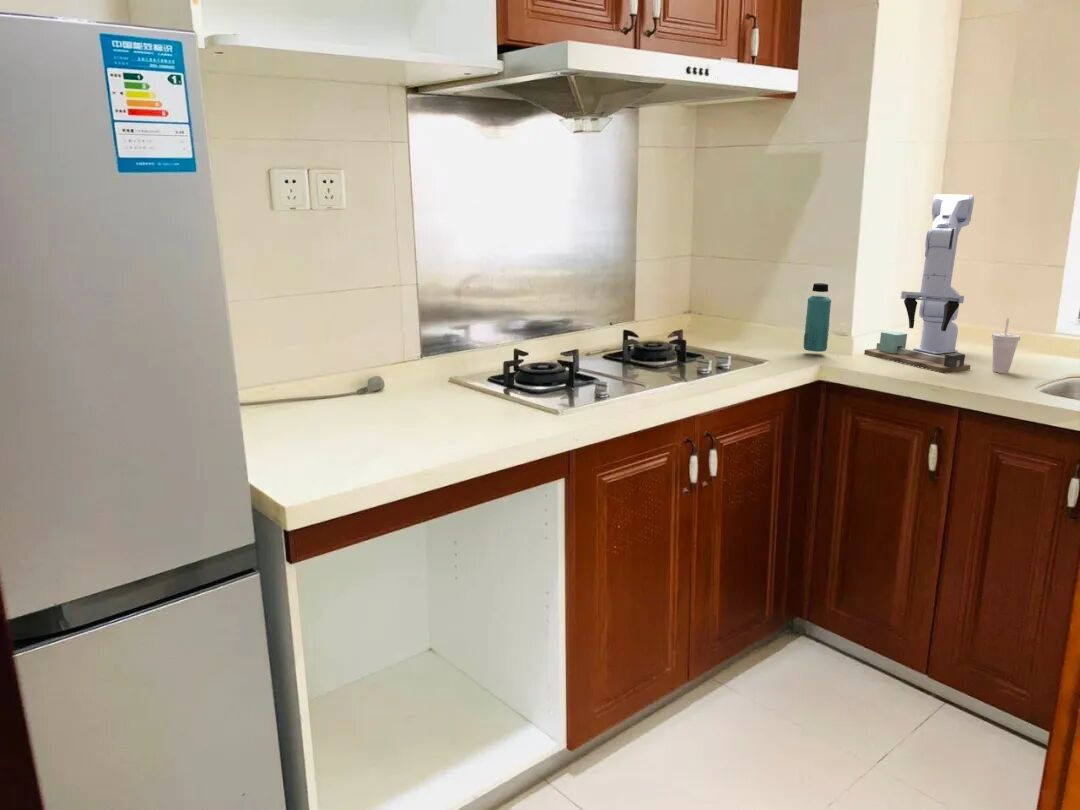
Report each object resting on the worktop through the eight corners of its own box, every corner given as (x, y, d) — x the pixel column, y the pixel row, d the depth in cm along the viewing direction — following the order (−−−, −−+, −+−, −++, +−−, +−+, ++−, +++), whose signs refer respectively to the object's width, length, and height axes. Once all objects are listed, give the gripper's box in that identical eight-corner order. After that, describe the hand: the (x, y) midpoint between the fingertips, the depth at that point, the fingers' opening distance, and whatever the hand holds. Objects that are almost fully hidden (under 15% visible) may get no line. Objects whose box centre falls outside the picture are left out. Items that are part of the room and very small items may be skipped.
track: (864, 354, 233) (866, 339, 232) (889, 351, 237) (891, 336, 236) (943, 373, 210) (946, 356, 209) (970, 369, 215) (972, 353, 214)
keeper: (878, 350, 232) (881, 332, 230) (890, 349, 234) (892, 331, 232) (893, 353, 227) (895, 335, 226) (904, 352, 229) (907, 334, 228)
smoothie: (981, 371, 213) (990, 317, 209) (993, 368, 217) (1001, 315, 213) (1007, 375, 208) (1016, 321, 205) (1019, 372, 212) (1028, 318, 208)
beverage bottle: (831, 356, 229) (839, 284, 224) (811, 357, 227) (818, 285, 222) (817, 351, 235) (824, 281, 230) (797, 353, 233) (803, 282, 228)
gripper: (907, 273, 207) (899, 327, 209) (970, 277, 203) (961, 332, 205) (902, 274, 213) (895, 326, 215) (963, 278, 210) (955, 331, 212)
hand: (927, 329), depth 211 cm, fingers open, 7 cm apart
